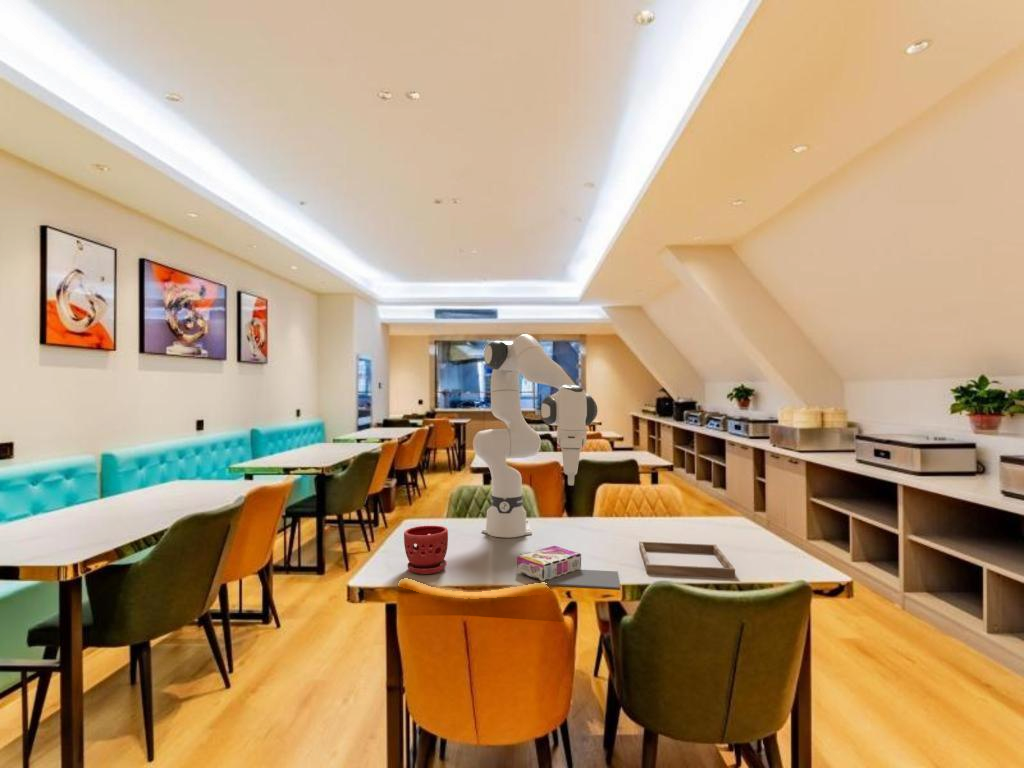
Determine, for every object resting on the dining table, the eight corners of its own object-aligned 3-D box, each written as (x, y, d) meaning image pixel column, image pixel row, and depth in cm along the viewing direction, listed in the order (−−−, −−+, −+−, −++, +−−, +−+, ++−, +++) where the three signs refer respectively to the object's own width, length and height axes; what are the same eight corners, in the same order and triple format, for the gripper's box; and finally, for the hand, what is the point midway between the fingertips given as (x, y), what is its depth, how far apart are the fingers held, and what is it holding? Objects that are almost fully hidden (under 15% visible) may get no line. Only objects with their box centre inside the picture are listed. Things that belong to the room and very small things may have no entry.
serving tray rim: (639, 548, 189) (639, 541, 189) (715, 552, 186) (715, 544, 186) (646, 573, 165) (646, 565, 165) (735, 578, 161) (735, 569, 161)
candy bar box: (581, 552, 167) (543, 565, 155) (581, 569, 167) (543, 582, 155) (554, 544, 175) (516, 555, 164) (554, 560, 175) (516, 572, 164)
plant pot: (449, 562, 174) (449, 524, 174) (445, 576, 161) (445, 535, 161) (407, 562, 174) (407, 524, 174) (400, 577, 161) (400, 535, 161)
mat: (543, 569, 168) (543, 567, 168) (617, 573, 165) (617, 571, 165) (539, 584, 155) (539, 582, 155) (620, 589, 152) (620, 587, 152)
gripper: (562, 434, 179) (562, 477, 179) (559, 442, 158) (559, 491, 159) (582, 435, 178) (581, 478, 178) (582, 443, 158) (581, 491, 158)
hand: (571, 484), depth 168 cm, fingers closed
